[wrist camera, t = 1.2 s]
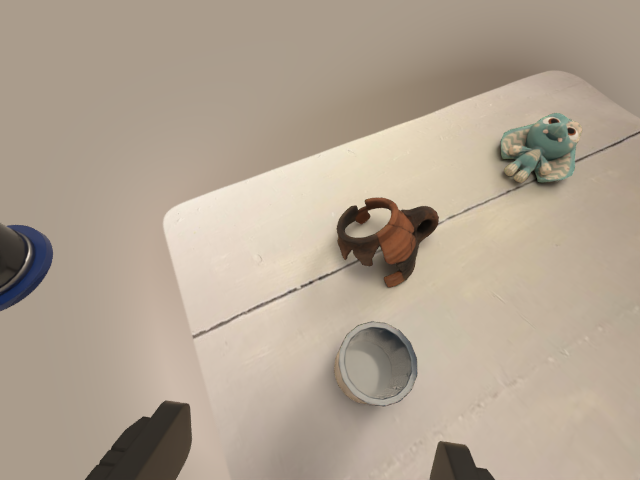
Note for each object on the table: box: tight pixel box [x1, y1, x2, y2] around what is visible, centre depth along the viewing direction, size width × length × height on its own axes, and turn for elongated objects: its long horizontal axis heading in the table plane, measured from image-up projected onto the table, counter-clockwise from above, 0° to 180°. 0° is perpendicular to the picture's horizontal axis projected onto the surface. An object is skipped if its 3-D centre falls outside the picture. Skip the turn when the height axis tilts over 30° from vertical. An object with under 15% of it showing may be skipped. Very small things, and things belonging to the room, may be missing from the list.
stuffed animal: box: [501, 113, 582, 183], centre depth 43 cm, size 11×7×12 cm
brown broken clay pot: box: [337, 198, 439, 287], centre depth 36 cm, size 12×10×8 cm
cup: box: [334, 322, 417, 406], centre depth 28 cm, size 6×6×8 cm
